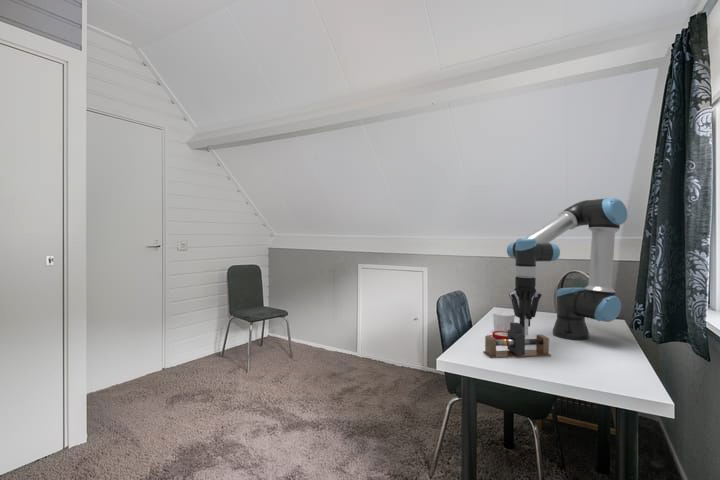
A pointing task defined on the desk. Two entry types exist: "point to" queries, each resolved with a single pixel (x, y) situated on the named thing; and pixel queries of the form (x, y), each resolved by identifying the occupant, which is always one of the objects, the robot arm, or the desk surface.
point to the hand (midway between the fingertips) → (524, 334)
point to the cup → (502, 320)
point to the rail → (491, 344)
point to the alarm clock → (500, 335)
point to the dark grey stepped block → (516, 339)
